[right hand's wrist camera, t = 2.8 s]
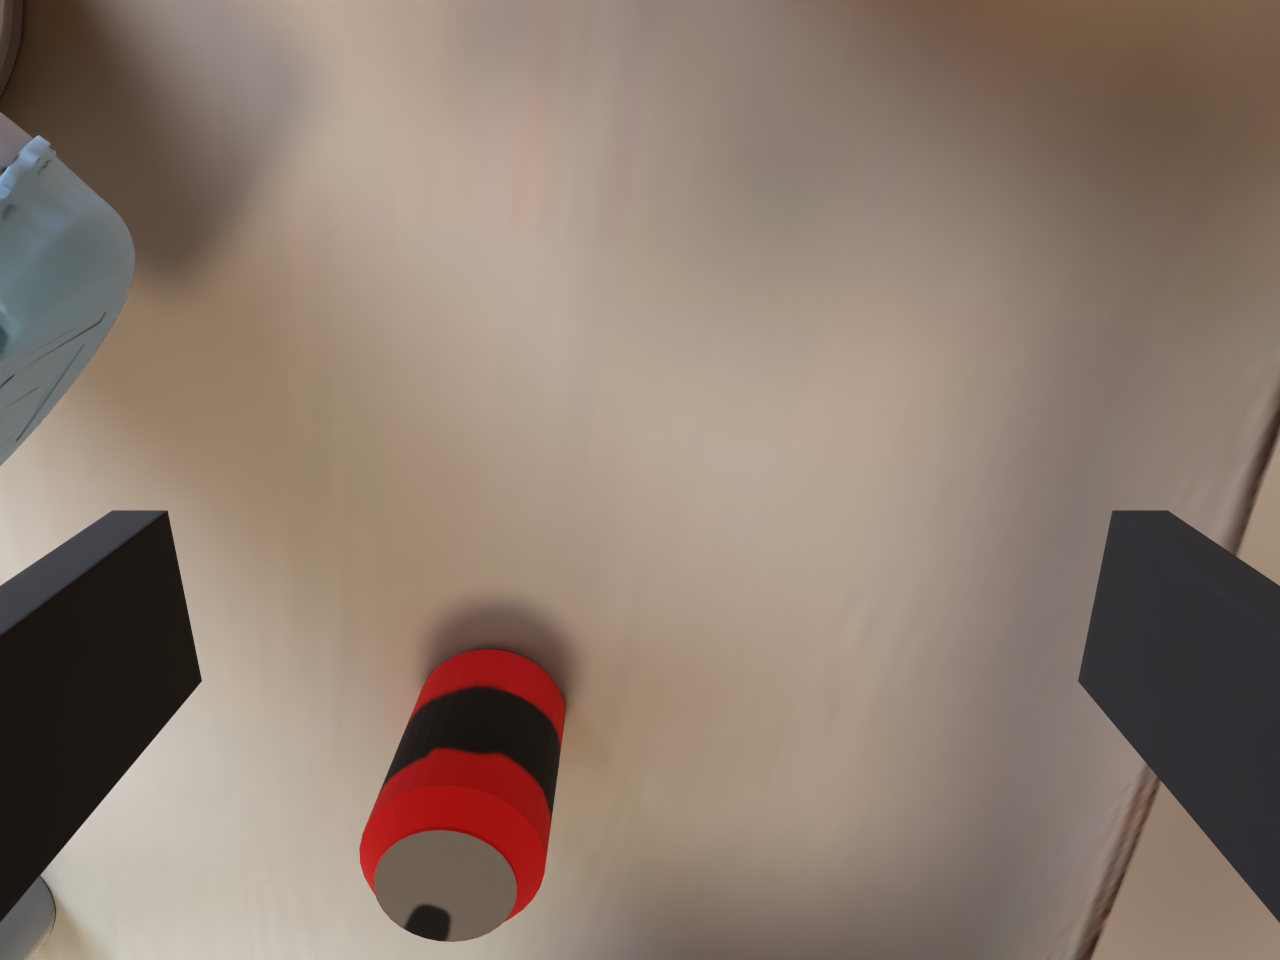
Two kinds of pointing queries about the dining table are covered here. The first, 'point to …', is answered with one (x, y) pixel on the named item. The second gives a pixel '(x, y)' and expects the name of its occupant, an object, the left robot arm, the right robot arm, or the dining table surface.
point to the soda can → (468, 798)
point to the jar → (27, 923)
